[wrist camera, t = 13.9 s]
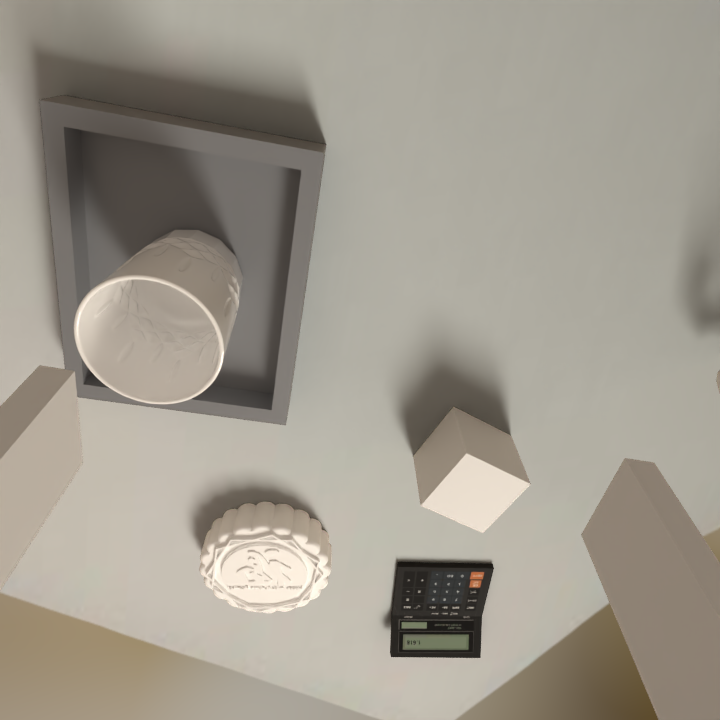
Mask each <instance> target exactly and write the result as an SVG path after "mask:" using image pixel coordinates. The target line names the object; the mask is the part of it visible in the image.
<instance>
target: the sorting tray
mask: <svg viewBox="0 0 720 720" xmlns="http://www.w3.org/2000/svg"><path fill="white" fill-rule="evenodd" d="M39 102H40V112H41V123H42V133H43V144H44V154H45V165H46V175H47V186H48V196H49V207H50V217H51V228H52V238H53V249H54V259H55V270H56V280H57V291H58V302H59V312H60V323H61V333H62V344H63V354H64V365H65V370H72V371H75V378H76V389H77V397H80V398H87V399H95V400H102V401H110V402H117V403H124V404H132V405H139V406H147V407H154V408H162V409H169V410H176V411H184V412H191V413H199V414H206V415H214V416H221V417H228V418H236V419H243V420H251V421H258V422H266V423H273V424H280V425H286V421H287V415H288V409H289V403H290V396H291V389H292V382H293V375H294V368H295V361H296V354H297V347H298V340H299V333H300V326H301V319H302V312H303V305H304V298H305V291H306V283H307V276H308V269H309V262H310V255H311V248H312V241H313V234H314V227H315V220H316V213H317V206H318V199H319V192H320V185H321V178H322V171H323V164H324V157H325V150H326V144H321V143H316V142H311V141H305V140H300V139H295V138H289V137H284V136H279V135H273V134H268V133H263V132H257V131H252V130H247V129H241V128H236V127H231V126H225V125H220V124H215V123H209V122H204V121H199V120H193V119H188V118H183V117H177V116H172V115H167V114H161V113H156V112H151V111H146V110H140V109H135V108H130V107H124V106H119V105H114V104H108V103H103V102H98V101H92V100H87V99H82V98H76V97H71V96H66V95H61V96H56V97H51V98H46V99H41V100H39ZM173 230H200V231H202V232H204V233H207V234H209V235H211V236H213V237H216V238H218V239H220V240H221V241H222V242H223V243H224V244H225V245H226V246H227V247H228V248H229V250H230V251H231V252H232V253H233V254H234V255H235V256H236V258H237V261H238V264H239V267H240V270H241V273H242V276H243V280H242V287H241V294H240V299H239V306H238V310H237V315H236V319H235V323H234V326H233V330H232V333H231V336H230V340H229V343H228V346H227V350H226V353H225V356H224V360H223V363H222V367H221V369H220V372H219V374H218V376H217V377H216V379H215V380H214V382H213V383H212V384H211V385H210V386H209V387H208V388H207V389H206V390H205V391H203V392H202V393H201V394H199V395H197V396H196V397H194V398H191V399H189V400H186V401H183V402H179V403H174V404H150V403H144V402H140V401H136V400H133V399H130V398H128V397H125V396H123V395H121V394H119V393H117V392H115V391H113V390H112V389H110V388H109V387H107V386H106V385H105V384H103V383H102V382H101V381H100V380H99V379H98V378H97V377H96V376H95V375H94V374H93V373H92V372H91V371H90V370H89V368H88V367H87V366H86V364H85V363H84V361H83V359H82V358H81V356H80V353H79V351H78V349H77V346H76V342H75V337H74V320H75V315H76V312H77V309H78V307H79V305H80V303H81V301H82V300H83V298H84V297H85V296H86V295H87V294H88V293H89V292H90V291H91V290H92V289H93V288H94V287H95V286H97V285H98V284H99V283H100V282H102V281H103V280H104V279H105V278H107V277H108V276H109V275H110V274H111V273H112V272H114V271H115V270H116V269H117V268H118V267H120V266H121V265H122V264H123V263H124V262H126V261H127V260H128V259H130V258H131V257H132V256H134V255H135V254H136V253H138V252H139V251H140V250H142V249H143V248H144V247H146V246H148V245H149V244H151V243H152V242H153V241H154V240H156V239H157V238H159V237H161V236H163V235H165V234H167V233H169V232H171V231H173Z"/></svg>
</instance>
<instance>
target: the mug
mask: <svg viewBox="0 0 720 720" xmlns="http://www.w3.org/2000/svg"><path fill="white" fill-rule="evenodd" d="M716 382H717V386H718V390H719V393H720V370H719V371H718V374H717V379H716Z"/></svg>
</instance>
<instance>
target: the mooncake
mask: <svg viewBox="0 0 720 720" xmlns="http://www.w3.org/2000/svg"><path fill="white" fill-rule="evenodd" d="M331 554H332V548H331V545H330V544H329V535H328V533H327V532H326V531H324V530H322V526H321V523H320V522H319V521H318V520H316V519H313V518H310V517H309V515H308V513H307V512H305V511H303V510H300V509H296V510H294V509H293V508H292V507H291V506H290V505H288V504H277V505H274V504H273V503H271V502H266V501H264V502H260V503H258V504H257V505H254V504H251V503H246V504H243V505H241V506H240V507H239V508H238V509H229V510H227V511H226V512H225V513H224V515H223V517H222V518H218V519H216V520H215V521H214V522H213V524H212V527H211V530H209V531H208V532H207V534H206V538H205V541H204V545H203V548H202V552H201V555H200V560H201V564H200V568H199V570H200V573H201V574H202V575H203V576H204V583H205V585H206V586H207V587H208V588H210V589H213V592H214V594H215V596H216V597H218V598H220V599H226V601H227V602H228V603H229V604H230V605H232V606H235V607H238V608H244V609H245V610H247V611H256V612H264V613H273V612H275V611H276V610H279V611H283V612H285V611H290V610H291V609H293V608H296V607H302V606H304V605H306V604H307V603H308V602H309V600H310V599H315V598H317V597H318V596H319V595H320V593H321V589H323V588H325V587H326V586H327V584H328V576H329V574H330V572H331Z"/></svg>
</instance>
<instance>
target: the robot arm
mask: <svg viewBox="0 0 720 720" xmlns="http://www.w3.org/2000/svg"><path fill="white" fill-rule="evenodd" d="M82 464H83V456H82V445H81V434H80V423H79V412H78V401H77V389H76V378H75V371H72V370H65V369H59V368H53V367H46V366H39V367H38V368H37V369H36V370H35V371H34V372H33V373H32V374H31V375H30V376H29V377H28V378H27V379H26V380H25V381H24V382H23V383H22V384H21V385H20V386H19V387H18V389H17V390H16V391H15V392H14V393H13V394H12V395H11V396H10V397H9V398H8V399H7V400H6V401H5V402H4V403H3V404H2V405H1V406H0V590H1V589H2V587H3V586H4V584H5V583H6V581H7V579H8V578H9V576H10V575H11V573H12V572H13V570H14V569H15V567H16V566H17V564H18V562H19V561H20V559H21V558H22V556H23V555H24V553H25V552H26V550H27V549H28V547H29V545H30V544H31V542H32V541H33V539H34V538H35V536H36V535H37V533H38V532H39V530H40V528H41V527H42V525H43V524H44V522H45V521H46V519H47V518H48V516H49V515H50V513H51V511H52V510H53V508H54V507H55V505H56V504H57V502H58V501H59V499H60V498H61V496H62V494H63V493H64V491H65V490H66V488H67V487H68V485H69V484H70V482H71V481H72V479H73V477H74V476H75V474H76V473H77V471H78V470H79V468H80V467H81V465H82ZM581 535H582V538H583V540H584V542H585V545H586V547H587V550H588V552H589V554H590V557H591V559H592V562H593V564H594V566H595V569H596V571H597V573H598V576H599V578H600V581H601V583H602V585H603V588H604V590H605V593H606V595H607V597H608V600H609V602H610V604H611V607H612V609H613V612H614V614H615V616H616V619H617V621H618V624H619V626H620V628H621V631H622V633H623V636H624V638H625V640H626V642H627V645H628V647H629V650H630V652H631V655H632V657H633V659H634V662H635V664H636V667H637V669H638V671H639V674H640V676H641V678H642V681H643V683H644V686H645V688H646V690H647V693H648V695H649V698H650V700H651V702H652V705H653V707H654V710H655V712H656V714H657V717H658V719H659V720H720V563H719V561H718V560H717V558H716V557H715V555H714V554H713V552H712V551H711V549H710V548H709V546H708V545H707V543H706V541H705V540H704V538H703V537H702V535H701V534H700V532H699V531H698V529H697V528H696V526H695V525H694V523H693V521H692V520H691V518H690V517H689V515H688V514H687V512H686V511H685V509H684V508H683V506H682V505H681V503H680V502H679V500H678V498H677V497H676V495H675V494H674V492H673V491H672V489H671V488H670V486H669V485H668V483H667V482H666V480H665V479H664V477H663V476H662V474H661V472H660V471H659V469H658V468H657V466H656V465H655V463H653V462H646V461H640V460H634V459H627V458H625V459H624V461H623V462H622V464H621V466H620V468H619V469H618V471H617V473H616V475H615V476H614V478H613V480H612V482H611V483H610V485H609V487H608V489H607V490H606V492H605V494H604V496H603V498H602V499H601V501H600V503H599V505H598V506H597V508H596V510H595V512H594V513H593V515H592V517H591V519H590V520H589V522H588V524H587V526H586V527H585V529H584V531H583V533H582V534H581Z"/></svg>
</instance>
